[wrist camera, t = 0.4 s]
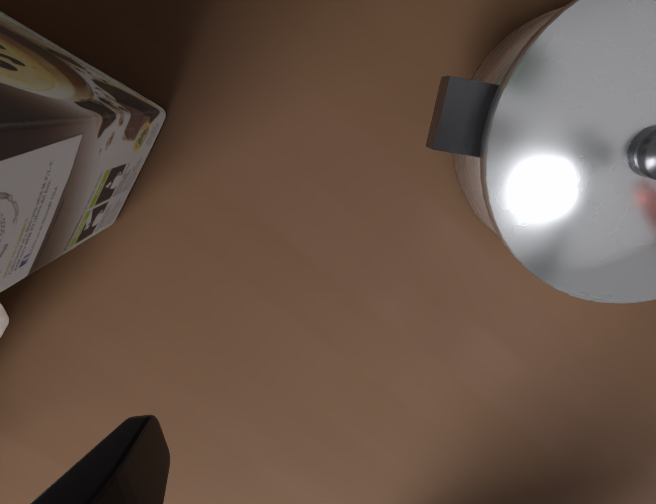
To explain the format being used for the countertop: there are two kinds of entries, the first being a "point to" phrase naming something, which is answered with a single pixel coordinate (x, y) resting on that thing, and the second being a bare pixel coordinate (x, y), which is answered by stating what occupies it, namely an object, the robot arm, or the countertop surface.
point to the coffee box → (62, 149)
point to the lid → (579, 152)
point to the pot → (475, 112)
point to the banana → (3, 320)
